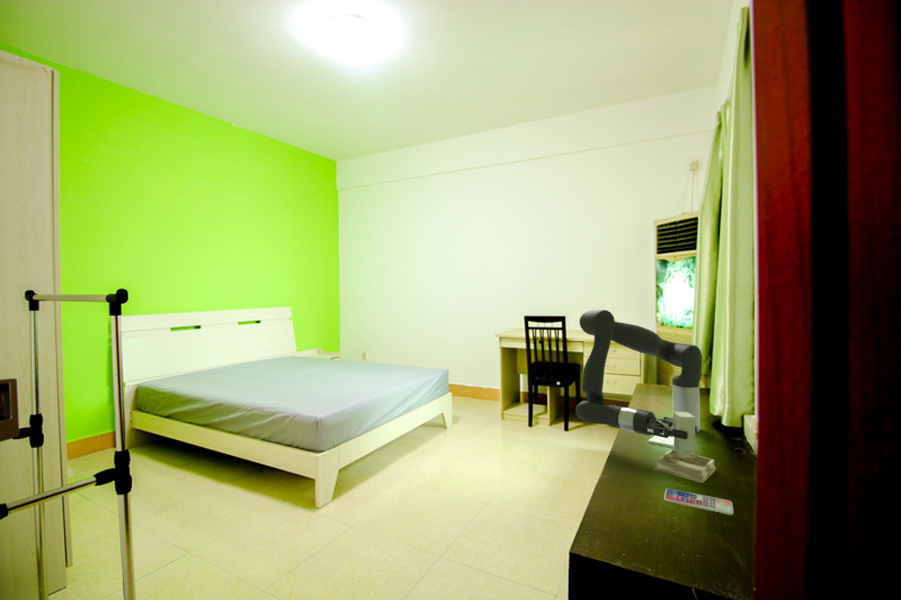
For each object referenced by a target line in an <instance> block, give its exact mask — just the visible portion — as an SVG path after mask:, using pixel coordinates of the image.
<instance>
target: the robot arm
mask: <svg viewBox="0 0 901 600" xmlns="http://www.w3.org/2000/svg"><path fill="white" fill-rule="evenodd" d="M578 321H579V326H580V328H581V330H582V331H583V332H584V333H585V334H587V335H589V336H594V337H593V346H592V350H591V352H590V354H589V356H588V358H587V360H586V362H585V365H584V367H583V371H582V372H583V373H582V383H581V390H582V391H583V393H584V394H585V397H586V398H585V399H586V400H582V401H581V402H579V403H577V405H576V406H575V407H576V408H575V414H576V415H577V417H578V419H580V420H582V421H584V422H587V423H592V424H600V425H606V426H610V427H613V428H618V429H622V430H625V431H627V432H631V433H635V434H641V435H645V436H659V437H664V438H668V436H669V437H677V438H681V439H687V438H688V432H686V431H682V430H677V429H674V416H673V415H672V418H671V417H667V416H664V417H661V418H660V417H659V418H656V415H655V414H654V412H653V411H651V410H650V411H649V410H645V409H641V408H640V409H639V408H633V407H624V406H618V405H614V404H605V400H604V399H605V398H604V393H603V389H604V388H603V387H604V380H605V379H604V378H605V377H604V376H605V368H606V364H607V363H606V362H607V359H608V358H607V357H608V354H609V349H610V346H611V343H612V342H614V343H616V344H617V345H621V346H623V347H626V348H628V349H630V350H632V351H635V352H638V353H641V354H644V355H647V356H651V357H652V356H653V357H655V358H657V359H658V358H659V359H660V360H663V361H665V362H666V363H668V364H670V365H672V366H675V367H678V368H681V370H680V371H681V373H680V374H679V375H675V376H673V377H672V379H671V384H672V385H671V388H672V390H671V393H672V413H673V412H689V413H690V414H691V415H693V416H694V417H695V434H697V433H699V432H700V431H701V424H700V422H701V418H700V417H701V416H700V413H701V410H700V409H701V408H700V404H701V403H700V402H701V401H700V382H701V380H702V373H703V372H702V367H703V355H702V350H701V349H700V348H699V346H697V345H694V344H688V343H680V342H674V341H669V340H665V339H662V338H661V337H660V336H659V335H658V334H657V333H656V332H655V331H652V330H651V329H648V328H645V327H643V326H639V325H635V324H632V323H631V324H630V323H625V322H619V321H615V317H614V314H613V313H611V312H610V311H609V310H607V309H592V310H588V311H585V312H584V313H582V315H581V316H580V317H579V320H578Z"/></svg>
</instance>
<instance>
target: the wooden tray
mask: <svg viewBox="0 0 901 600" xmlns="http://www.w3.org/2000/svg"><path fill="white" fill-rule="evenodd" d="M653 469H654V471H657V472H661V473H665V474H668V475H672V476H676V477H678V478H679V477H680V478H682V479H686V480H689V481H692V482H693V481H694V482H697V483H699V484H700V483H701V484H703V483H704V482H705V481H707V479H709V478H710V477H711V476H712V475H713V474H714V473H715V472H716V471H717V469H718V468H717V466H715V459H714V458H708V457H705V456H701V455H696V458H683V457H680V456H679V455H678V454H677V453H676V452H675V451H674V449H669V450H668V451H667V452H665V453H663V454H662V455H661V456H659V457H657V458H656V466H655V467H654V468H653Z"/></svg>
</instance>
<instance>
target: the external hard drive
mask: <svg viewBox="0 0 901 600" xmlns="http://www.w3.org/2000/svg"><path fill="white" fill-rule="evenodd" d="M647 442H648V443H649V444H652V445H656V446H658V445H659V446H662V447H667V448H670V449H673V448H674V437H669V436H668V438H664V437H659V436H655V435H653V436H652V437H651V438H650V439H649V440H648V441H647Z"/></svg>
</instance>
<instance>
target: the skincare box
mask: <svg viewBox="0 0 901 600" xmlns="http://www.w3.org/2000/svg"><path fill="white" fill-rule="evenodd" d="M673 416H674V429H677V430H682V431H686V432H688V438H687V439H681V438H677V437H674V447H673V448H674V449H673V450H674V451H675V452H676V453H677V454H678V455H679V456H680V457H683V458H696V451H697V449H696V433H695V417H694V416H693V415H691V414H690V413H689V412H673V411H672V417H673Z"/></svg>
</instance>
